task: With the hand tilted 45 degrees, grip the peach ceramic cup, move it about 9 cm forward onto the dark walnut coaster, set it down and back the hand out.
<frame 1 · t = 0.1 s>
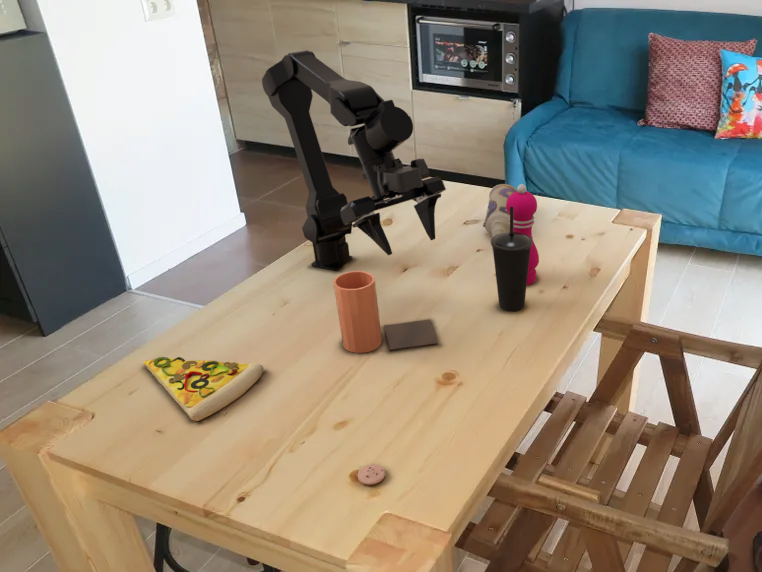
hand: (412, 247, 131), 15 cm above the table, tool tilted 35°, fingers open, 9 cm apart
cookie: (371, 477, 106), on the table
pepper mill: (520, 279, 154), on the table
decorative bottle: (498, 230, 173), on the table
drinking cup: (511, 306, 145), on the table
pizza slice: (192, 383, 124), on the table
peach cup: (362, 342, 134), on the table
walnut coaster: (410, 335, 136), on the table
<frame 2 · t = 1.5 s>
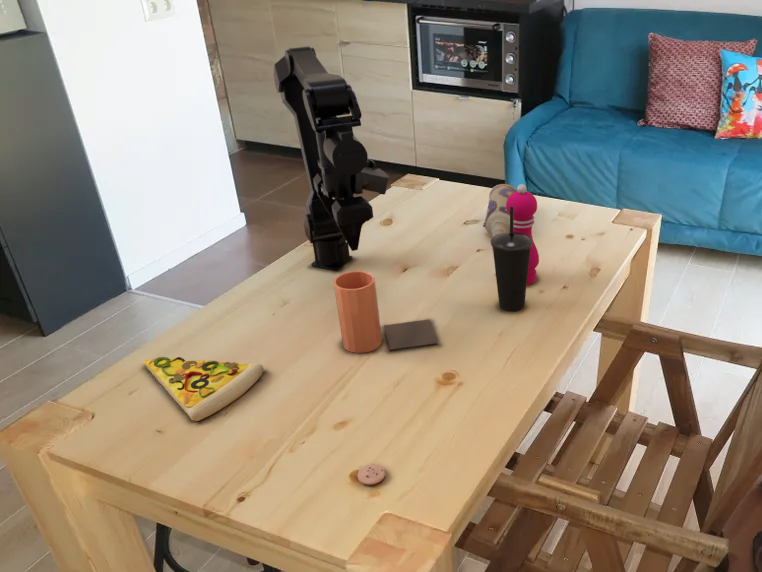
hand: (348, 240, 138), 13 cm above the table, tool pointing down, fingers open, 9 cm apart
nothing on the table moved.
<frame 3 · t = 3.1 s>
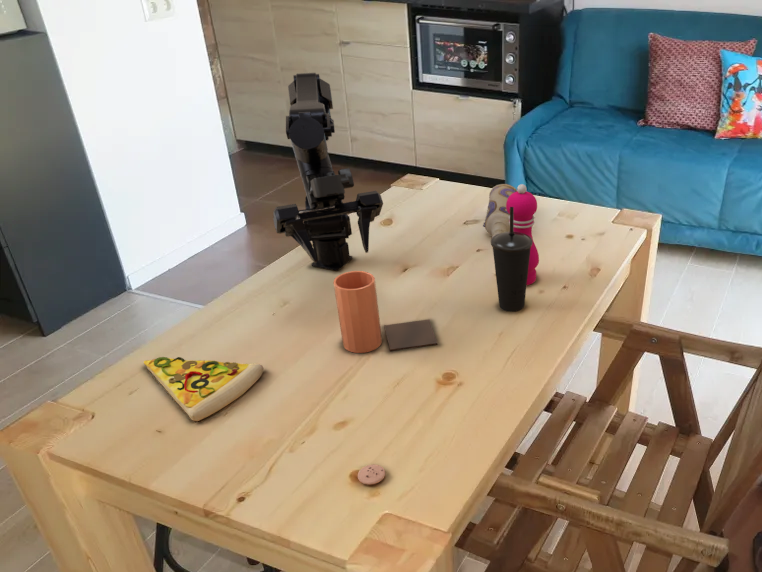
hand: (341, 256, 132), 13 cm above the table, tool tilted 45°, fingers open, 9 cm apart
nothing on the table moved.
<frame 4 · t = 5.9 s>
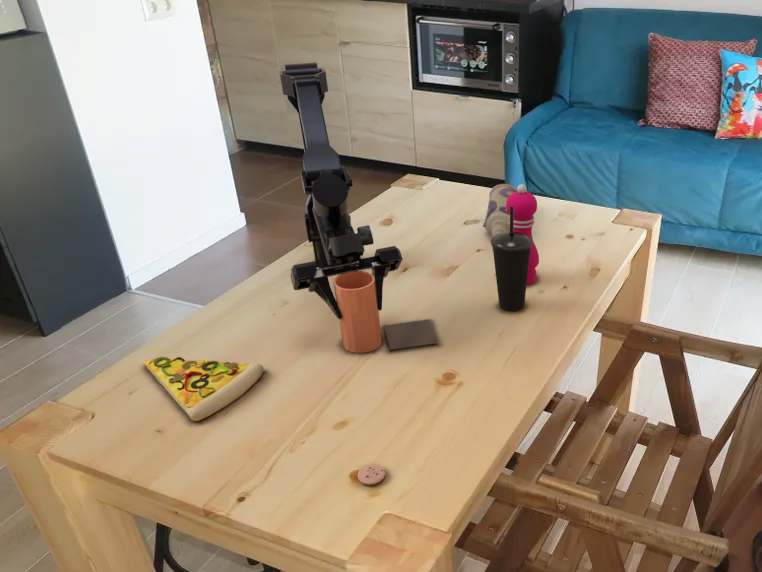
hand: (360, 314, 129), 7 cm above the table, tool tilted 45°, fingers closed on peach cup, 7 cm apart
peach cup: (362, 342, 134), on the table, touching gripper
everything else where it was.
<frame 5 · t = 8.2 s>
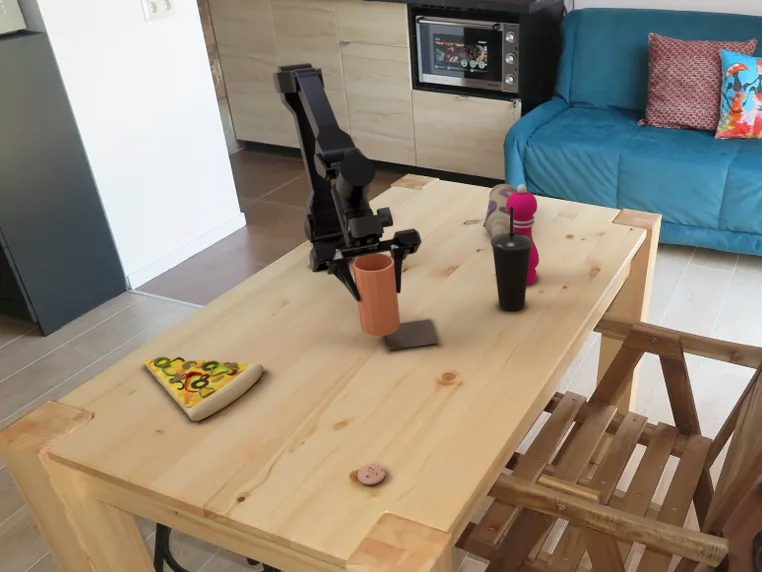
hand: (379, 296, 128), 9 cm above the table, tool tilted 45°, fingers closed on peach cup, 7 cm apart
peach cup: (380, 326, 133), point 3 cm above the table, touching gripper
everything else where it was.
when the fingers open (7 cm above the table, at t = 10.6 s): peach cup stays where it is, resting on walnut coaster.
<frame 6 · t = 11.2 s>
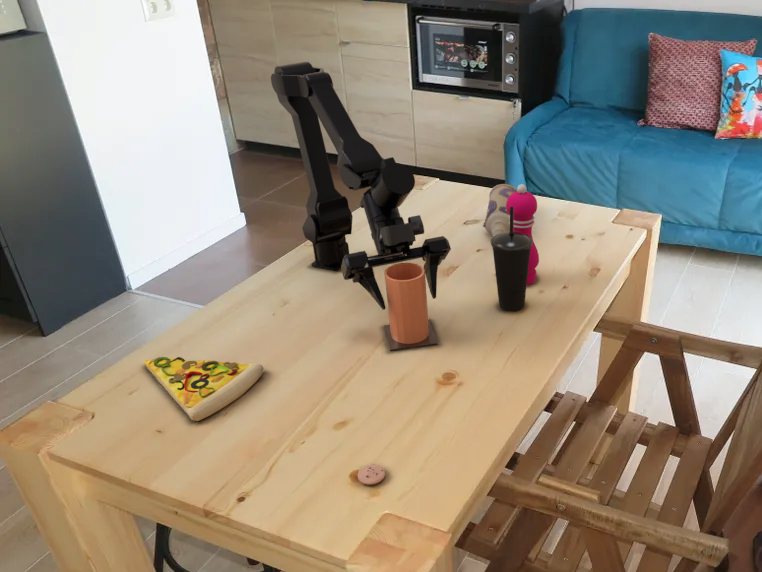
hand: (409, 303, 130), 7 cm above the table, tool tilted 45°, fingers open, 9 cm apart
peach cup: (410, 333, 136), resting on walnut coaster
everything else where it was.
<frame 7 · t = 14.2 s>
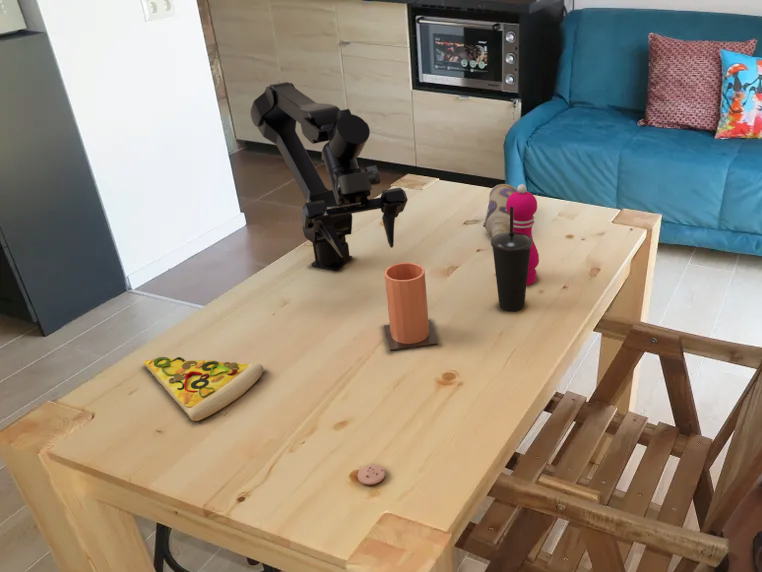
hand: (367, 251, 136), 12 cm above the table, tool tilted 45°, fingers open, 9 cm apart
nothing on the table moved.
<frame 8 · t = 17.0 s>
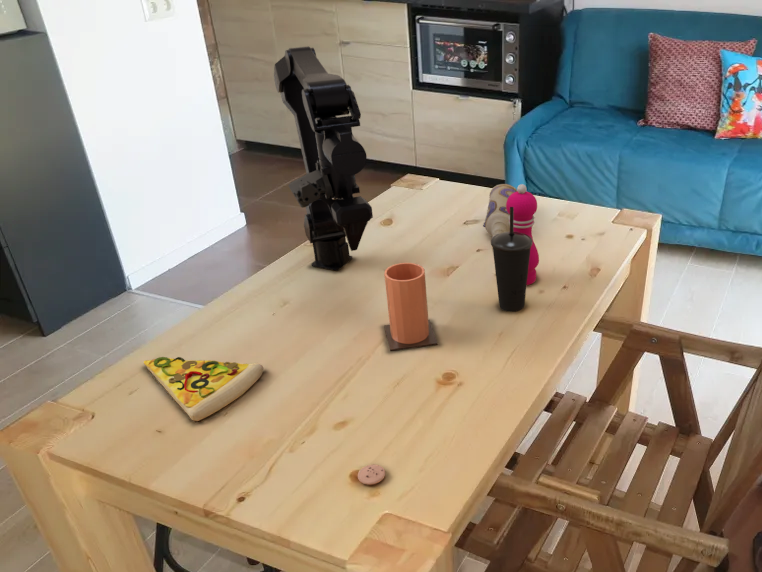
hand: (347, 240, 138), 13 cm above the table, tool pointing down, fingers open, 9 cm apart
nothing on the table moved.
at the end: peach cup 0.0 cm from the walnut coaster (horizontally); peach cup moved 8.6 cm from its start; peach cup tilted 0° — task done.
